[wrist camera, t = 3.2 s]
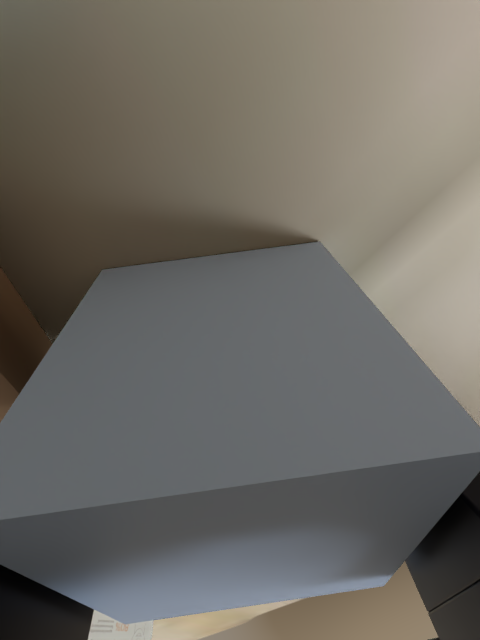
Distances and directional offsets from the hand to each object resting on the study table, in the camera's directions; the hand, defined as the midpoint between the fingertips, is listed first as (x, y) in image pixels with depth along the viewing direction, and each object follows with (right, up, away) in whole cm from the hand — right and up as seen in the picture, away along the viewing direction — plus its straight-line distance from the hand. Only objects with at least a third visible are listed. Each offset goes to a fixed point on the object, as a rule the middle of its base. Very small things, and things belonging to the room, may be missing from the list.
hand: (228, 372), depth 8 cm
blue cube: (0, +1, +1) cm, 2 cm away
